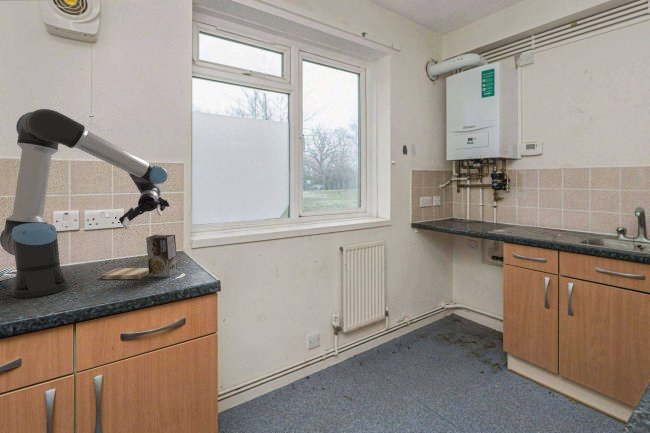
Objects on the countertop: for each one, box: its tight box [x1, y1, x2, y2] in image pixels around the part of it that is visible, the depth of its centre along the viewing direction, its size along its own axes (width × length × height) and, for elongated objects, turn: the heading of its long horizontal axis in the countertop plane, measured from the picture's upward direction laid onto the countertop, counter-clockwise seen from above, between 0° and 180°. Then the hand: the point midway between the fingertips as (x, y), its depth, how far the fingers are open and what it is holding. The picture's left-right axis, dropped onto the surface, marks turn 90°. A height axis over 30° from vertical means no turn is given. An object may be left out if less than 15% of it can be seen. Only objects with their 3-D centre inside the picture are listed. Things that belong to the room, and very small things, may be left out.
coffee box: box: [145, 234, 178, 278], centre depth 137 cm, size 9×6×16 cm
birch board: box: [100, 267, 149, 280], centre depth 137 cm, size 15×10×2 cm, turn 91°
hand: (141, 219), depth 135 cm, fingers open, 13 cm apart
